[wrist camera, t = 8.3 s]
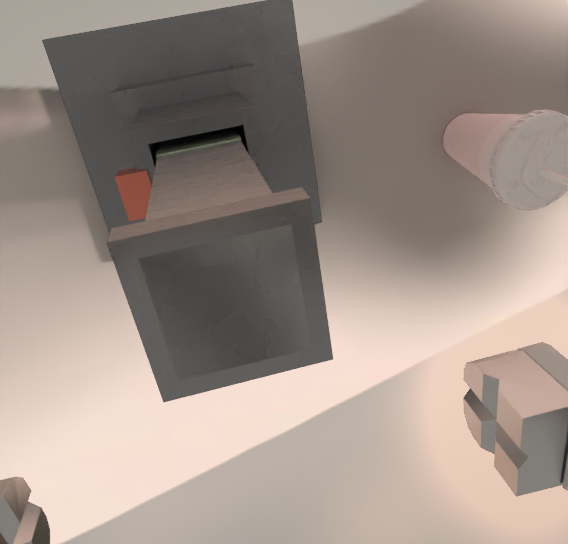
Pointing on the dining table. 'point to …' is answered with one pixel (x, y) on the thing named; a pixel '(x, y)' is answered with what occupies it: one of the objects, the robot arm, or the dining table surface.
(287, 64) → the base
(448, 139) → the smoothie
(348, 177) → the dining table surface
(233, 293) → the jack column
